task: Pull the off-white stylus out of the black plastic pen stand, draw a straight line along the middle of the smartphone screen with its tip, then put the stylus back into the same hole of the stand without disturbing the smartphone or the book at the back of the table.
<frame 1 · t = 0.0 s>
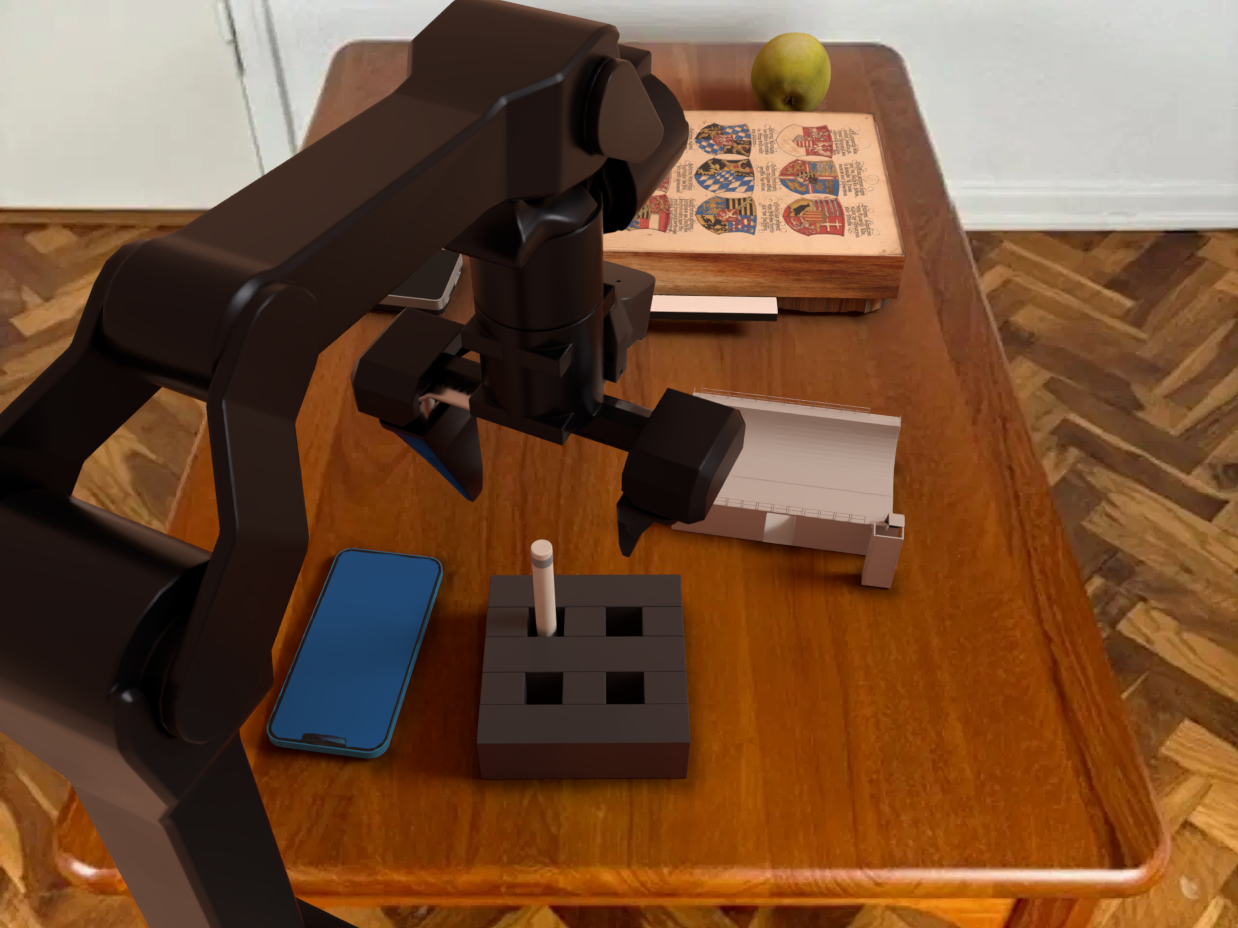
hand: (550, 522, 64), 14 cm above the table, tool pointing down, fingers open, 9 cm apart
pen stand: (585, 690, 73), on the table
external hard drive: (391, 289, 101), on the table
book: (718, 249, 105), on the table
smartphone: (362, 652, 75), on the table
skate ramp: (784, 502, 84), on the table
apple: (786, 114, 121), on the table
stylus: (548, 659, 75), resting in pen stand
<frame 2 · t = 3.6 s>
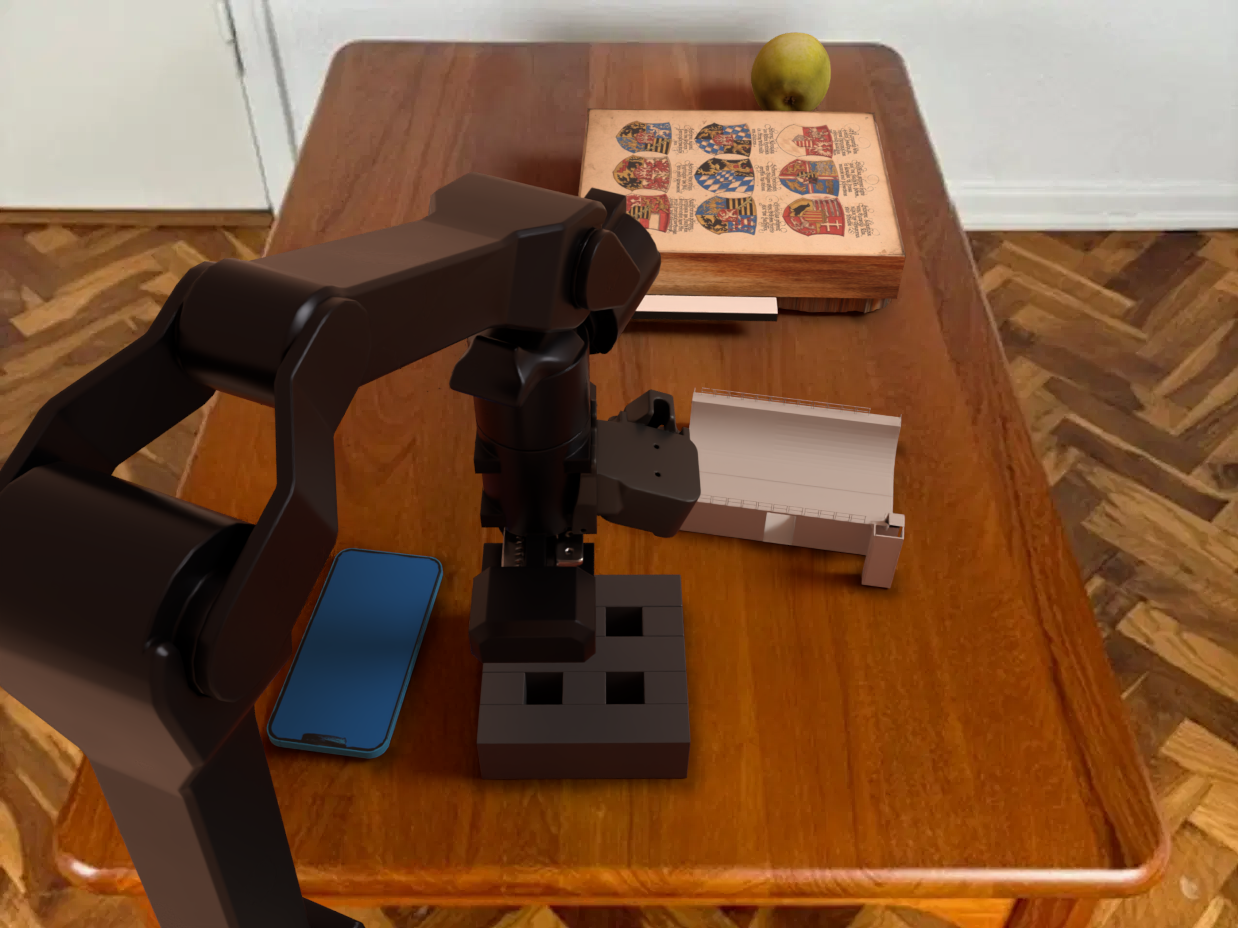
hand: (544, 601, 71), 6 cm above the table, tool pointing down, fingers closed on stylus, 1 cm apart
stylus: (548, 659, 75), resting in pen stand, touching gripper
everything else where it was.
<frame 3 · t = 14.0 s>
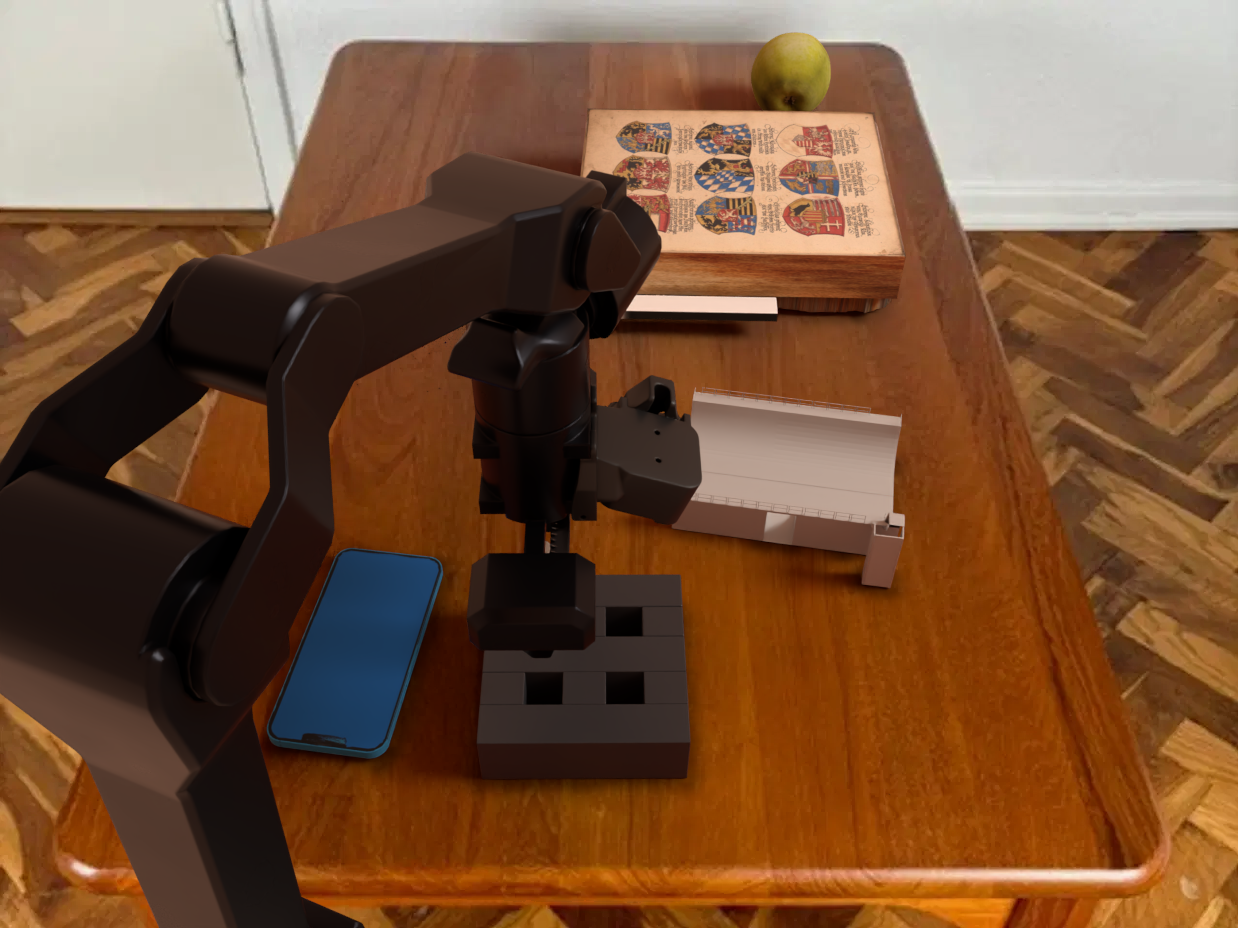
hand: (544, 590, 70), 7 cm above the table, tool pointing down, fingers open, 9 cm apart
stylus: (548, 659, 75), resting in pen stand
everything else where it was.
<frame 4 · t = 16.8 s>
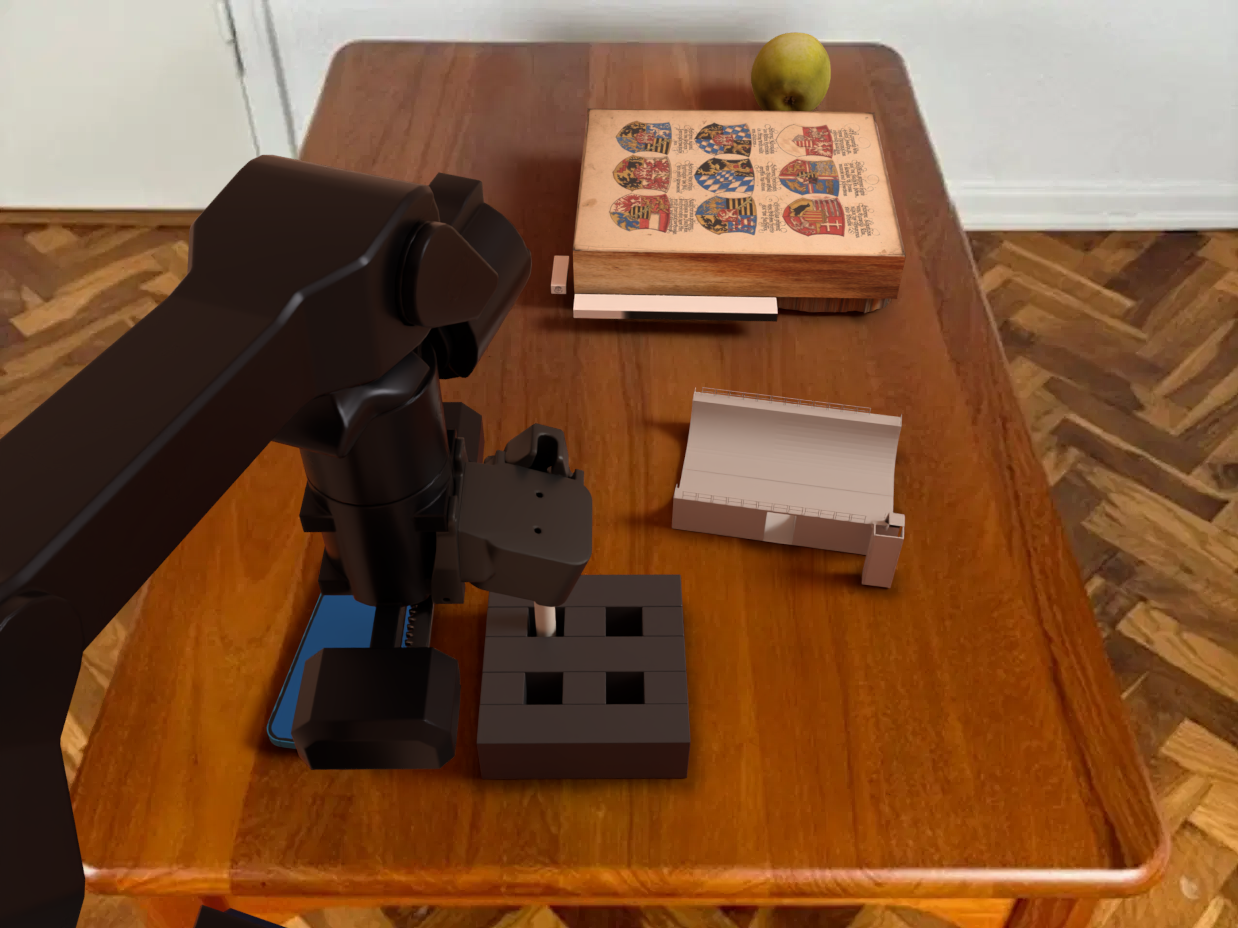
hand: (421, 673, 59), 13 cm above the table, tool pointing down, fingers open, 9 cm apart
nothing on the table moved.
at the end: stylus 0.0 cm from the target spot in the pen stand, point 0.0 cm above the pen stand's base; smartphone moved 0.0 cm from its start; book moved 0.2 cm from its start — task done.
